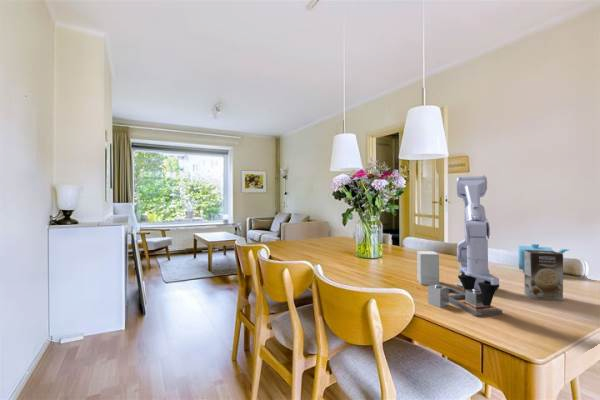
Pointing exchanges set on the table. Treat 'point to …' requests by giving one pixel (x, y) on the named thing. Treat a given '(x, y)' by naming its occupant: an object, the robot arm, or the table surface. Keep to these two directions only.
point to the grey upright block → (438, 295)
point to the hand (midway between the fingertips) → (477, 301)
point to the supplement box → (427, 267)
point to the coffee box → (543, 275)
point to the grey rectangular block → (474, 298)
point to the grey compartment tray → (469, 309)
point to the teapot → (533, 247)
